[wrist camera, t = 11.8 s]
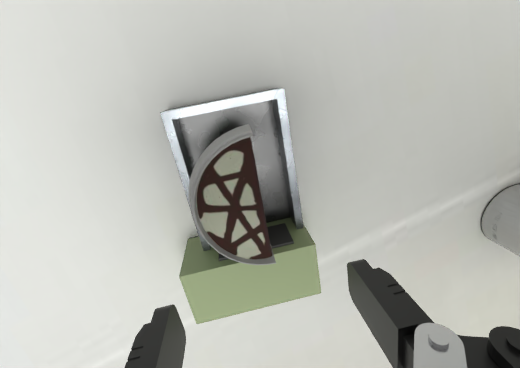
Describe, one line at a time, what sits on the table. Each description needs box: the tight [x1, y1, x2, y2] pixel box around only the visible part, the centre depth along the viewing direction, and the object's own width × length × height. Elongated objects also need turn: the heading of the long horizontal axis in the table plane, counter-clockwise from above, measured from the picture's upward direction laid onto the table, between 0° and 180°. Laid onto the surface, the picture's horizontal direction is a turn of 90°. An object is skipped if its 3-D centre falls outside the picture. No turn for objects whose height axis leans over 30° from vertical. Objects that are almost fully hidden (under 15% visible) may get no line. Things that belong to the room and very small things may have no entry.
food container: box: [188, 124, 276, 265], centre depth 25 cm, size 12×6×10 cm, turn 10°
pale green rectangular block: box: [179, 218, 321, 324], centre depth 31 cm, size 14×7×7 cm, turn 100°
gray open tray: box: [161, 88, 303, 251], centre depth 28 cm, size 12×15×4 cm
